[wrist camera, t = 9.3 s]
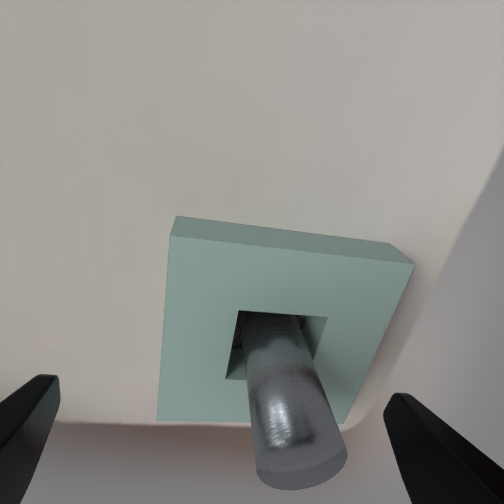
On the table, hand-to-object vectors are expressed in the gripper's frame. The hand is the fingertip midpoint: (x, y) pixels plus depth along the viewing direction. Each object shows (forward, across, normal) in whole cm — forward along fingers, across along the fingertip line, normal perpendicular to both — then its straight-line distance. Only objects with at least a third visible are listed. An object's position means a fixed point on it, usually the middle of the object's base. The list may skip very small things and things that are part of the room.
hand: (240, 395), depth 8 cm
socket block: (+12, -4, +6) cm, 14 cm away
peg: (+12, -4, +6) cm, 14 cm away
